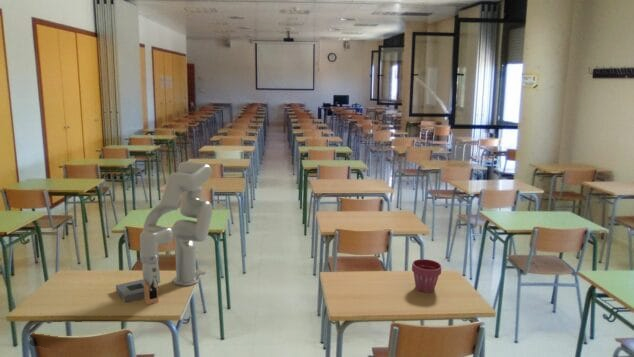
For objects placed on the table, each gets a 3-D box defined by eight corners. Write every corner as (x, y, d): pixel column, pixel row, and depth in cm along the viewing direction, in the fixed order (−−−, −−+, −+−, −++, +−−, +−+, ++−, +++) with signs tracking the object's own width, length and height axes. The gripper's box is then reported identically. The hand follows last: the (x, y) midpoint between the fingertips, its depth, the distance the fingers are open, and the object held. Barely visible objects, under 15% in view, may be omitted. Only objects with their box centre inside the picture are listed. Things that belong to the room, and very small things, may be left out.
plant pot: (445, 291, 251) (447, 267, 248) (422, 296, 245) (424, 271, 242) (427, 280, 263) (429, 257, 261) (405, 285, 257) (406, 261, 255)
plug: (155, 298, 235) (154, 280, 233) (158, 301, 232) (157, 283, 230) (144, 301, 232) (143, 282, 231) (147, 304, 229) (146, 285, 227)
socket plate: (145, 284, 250) (145, 278, 250) (155, 294, 239) (155, 288, 239) (116, 291, 242) (115, 285, 241) (125, 302, 231) (124, 295, 230)
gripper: (164, 262, 224) (166, 301, 228) (151, 251, 237) (153, 288, 241) (147, 265, 219) (149, 305, 223) (135, 254, 232) (137, 291, 236)
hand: (151, 296), depth 232 cm, fingers closed on plug, 3 cm apart
